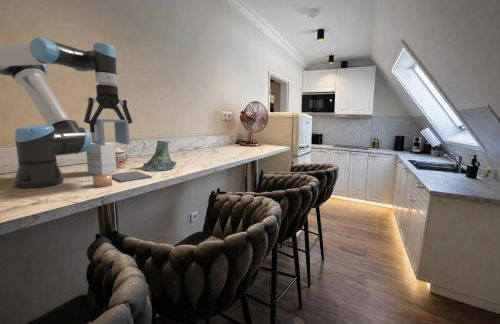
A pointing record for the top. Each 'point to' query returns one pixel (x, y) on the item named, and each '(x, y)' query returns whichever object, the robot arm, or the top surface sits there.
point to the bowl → (102, 180)
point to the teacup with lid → (120, 157)
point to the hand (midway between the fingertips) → (110, 140)
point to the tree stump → (159, 159)
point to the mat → (130, 176)
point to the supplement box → (101, 158)
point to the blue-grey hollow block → (120, 131)
